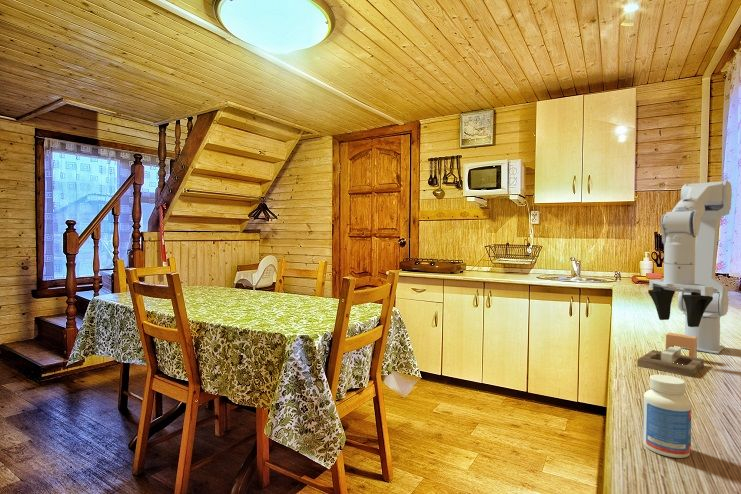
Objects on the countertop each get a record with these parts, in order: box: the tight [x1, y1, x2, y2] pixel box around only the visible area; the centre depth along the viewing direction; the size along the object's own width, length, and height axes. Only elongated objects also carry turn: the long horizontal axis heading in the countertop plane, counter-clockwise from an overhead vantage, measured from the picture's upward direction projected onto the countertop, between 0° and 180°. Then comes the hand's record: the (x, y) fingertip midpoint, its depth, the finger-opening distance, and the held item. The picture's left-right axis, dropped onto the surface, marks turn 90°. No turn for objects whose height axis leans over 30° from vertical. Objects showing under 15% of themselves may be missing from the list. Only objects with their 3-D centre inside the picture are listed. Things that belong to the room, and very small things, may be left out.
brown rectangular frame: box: [637, 346, 705, 378], centre depth 95 cm, size 12×10×4 cm
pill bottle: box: [642, 374, 692, 459], centre depth 57 cm, size 6×5×10 cm
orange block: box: [665, 332, 698, 358], centre depth 101 cm, size 3×6×6 cm, turn 42°
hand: (678, 323), depth 95 cm, fingers open, 7 cm apart
